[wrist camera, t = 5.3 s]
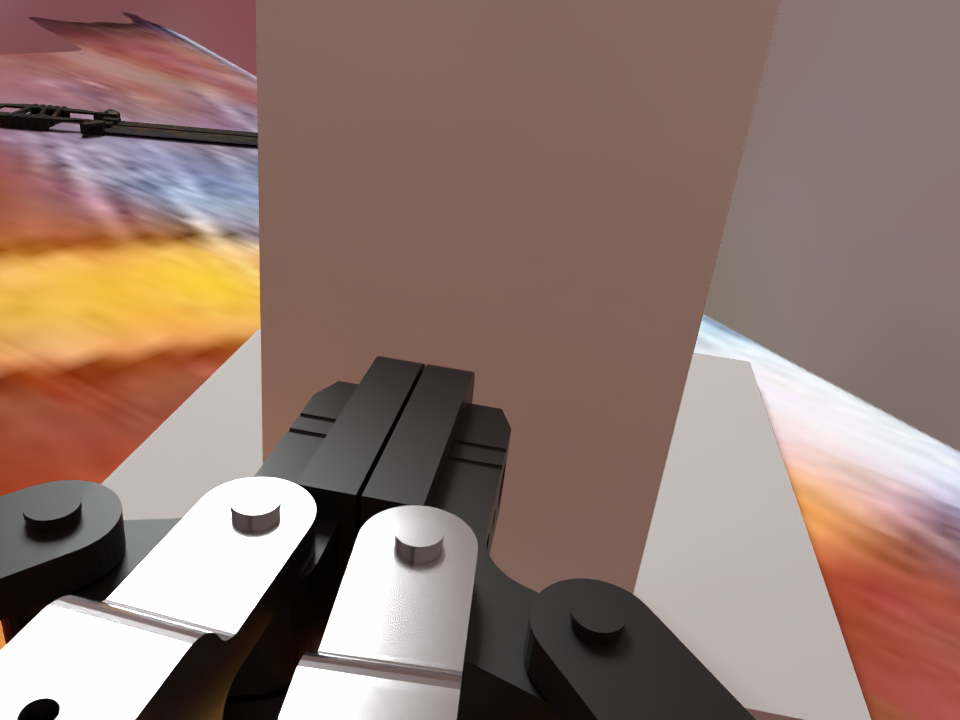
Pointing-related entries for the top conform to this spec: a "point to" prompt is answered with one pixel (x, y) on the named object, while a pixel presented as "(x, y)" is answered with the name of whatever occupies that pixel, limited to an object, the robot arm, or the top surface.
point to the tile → (507, 229)
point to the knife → (113, 124)
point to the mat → (670, 543)
